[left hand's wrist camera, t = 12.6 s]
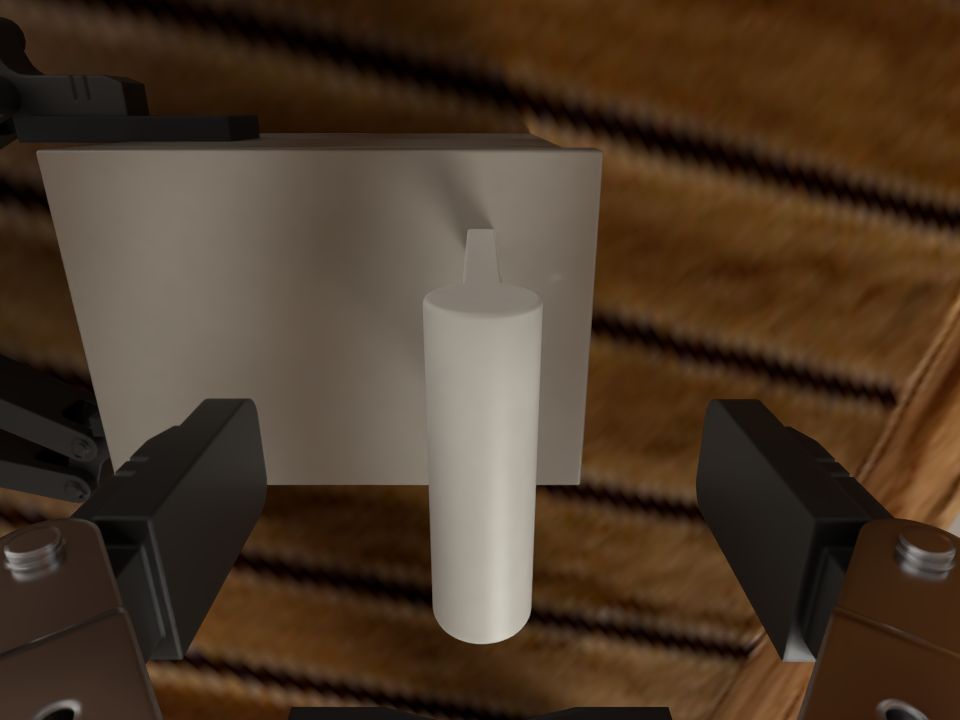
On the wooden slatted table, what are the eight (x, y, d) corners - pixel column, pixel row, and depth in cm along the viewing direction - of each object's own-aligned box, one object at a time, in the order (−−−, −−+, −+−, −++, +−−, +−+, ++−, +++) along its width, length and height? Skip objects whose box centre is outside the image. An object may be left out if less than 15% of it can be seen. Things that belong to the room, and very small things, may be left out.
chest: (531, 133, 27) (564, 147, 16) (525, 344, 30) (549, 464, 20) (223, 133, 27) (64, 147, 16) (253, 344, 30) (136, 464, 20)
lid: (595, 147, 16) (714, 184, 8) (575, 465, 20) (644, 718, 12) (63, 147, 16) (-362, 184, 8) (135, 465, 20) (-110, 719, 12)
